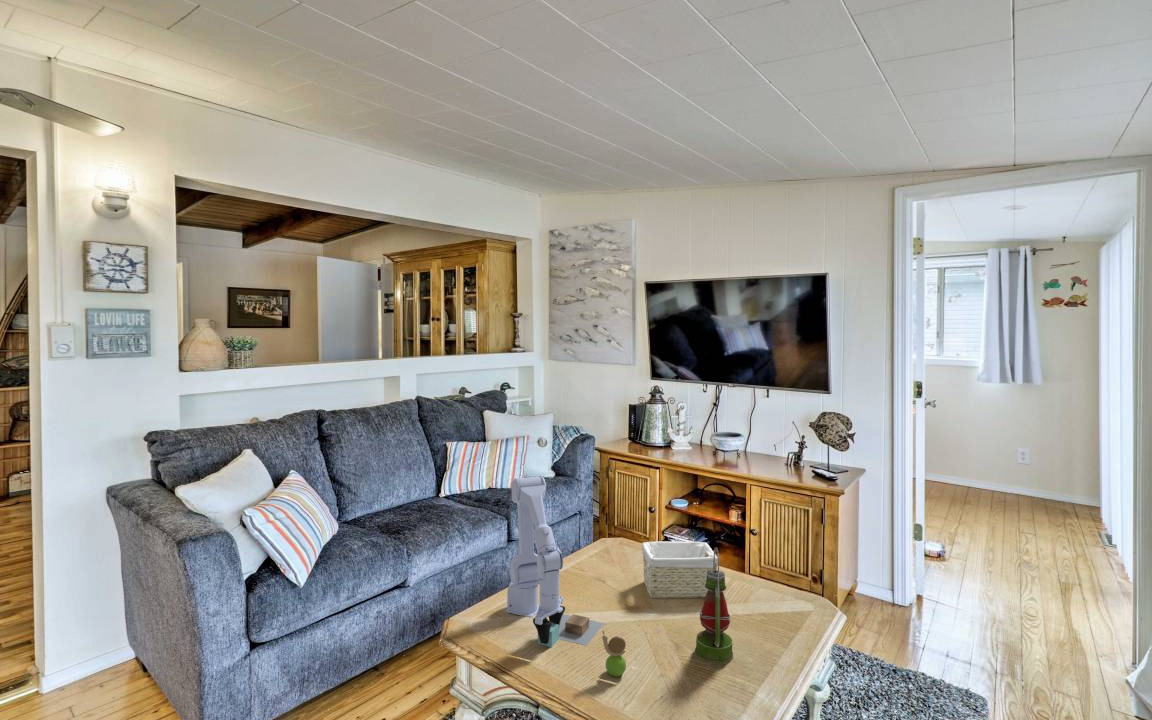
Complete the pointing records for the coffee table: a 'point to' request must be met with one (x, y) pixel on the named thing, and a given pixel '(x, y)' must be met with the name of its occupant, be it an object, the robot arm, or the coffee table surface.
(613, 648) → the green toy figure
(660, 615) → the coffee table surface
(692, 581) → the storage basket
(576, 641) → the build plate
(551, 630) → the teal brick
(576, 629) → the walnut brick
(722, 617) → the lantern
